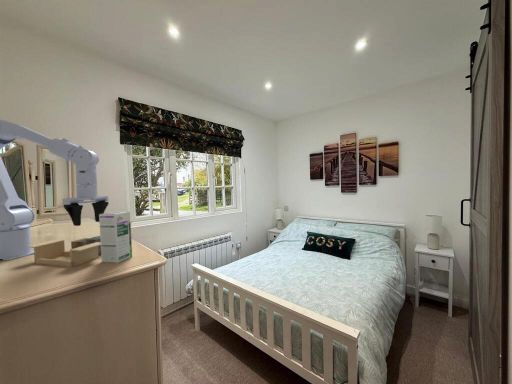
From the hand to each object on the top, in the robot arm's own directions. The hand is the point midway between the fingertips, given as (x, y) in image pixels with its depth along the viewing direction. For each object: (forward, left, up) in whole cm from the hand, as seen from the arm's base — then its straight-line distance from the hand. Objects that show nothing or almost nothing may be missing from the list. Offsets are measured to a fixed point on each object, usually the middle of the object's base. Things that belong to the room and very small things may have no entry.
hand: (88, 223), depth 76 cm
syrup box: (+18, -6, -10) cm, 21 cm away
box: (+4, -3, -10) cm, 11 cm away
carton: (+4, -10, -9) cm, 14 cm away
